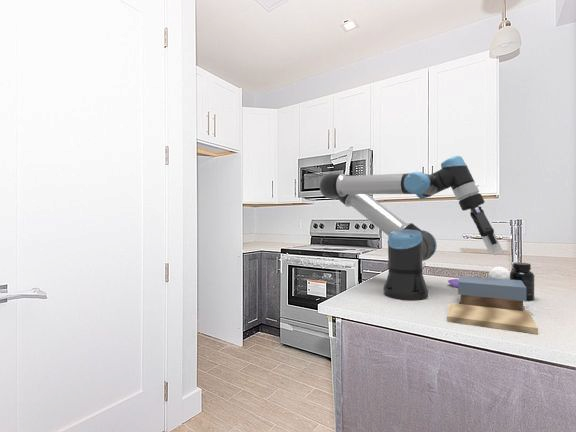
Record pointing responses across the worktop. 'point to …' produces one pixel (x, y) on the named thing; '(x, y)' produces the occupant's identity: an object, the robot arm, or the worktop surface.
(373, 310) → the worktop surface
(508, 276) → the ball
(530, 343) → the worktop surface
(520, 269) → the supplement bottle
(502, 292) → the slate lid
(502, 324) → the oak cutting board
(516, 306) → the walnut spice box
